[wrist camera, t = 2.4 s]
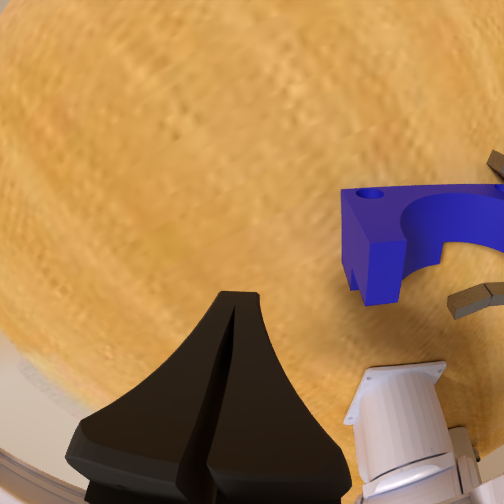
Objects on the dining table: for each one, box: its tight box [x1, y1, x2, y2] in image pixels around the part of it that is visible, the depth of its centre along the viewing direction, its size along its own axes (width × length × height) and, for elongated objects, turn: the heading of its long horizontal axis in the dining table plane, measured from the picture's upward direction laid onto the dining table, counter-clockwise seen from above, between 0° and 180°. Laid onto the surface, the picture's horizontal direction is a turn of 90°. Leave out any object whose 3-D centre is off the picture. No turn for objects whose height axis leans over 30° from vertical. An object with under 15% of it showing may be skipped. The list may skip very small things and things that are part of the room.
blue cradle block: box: [341, 184, 504, 306], centre depth 14 cm, size 12×4×6 cm, turn 98°
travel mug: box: [448, 427, 482, 485], centre depth 24 cm, size 8×8×18 cm
